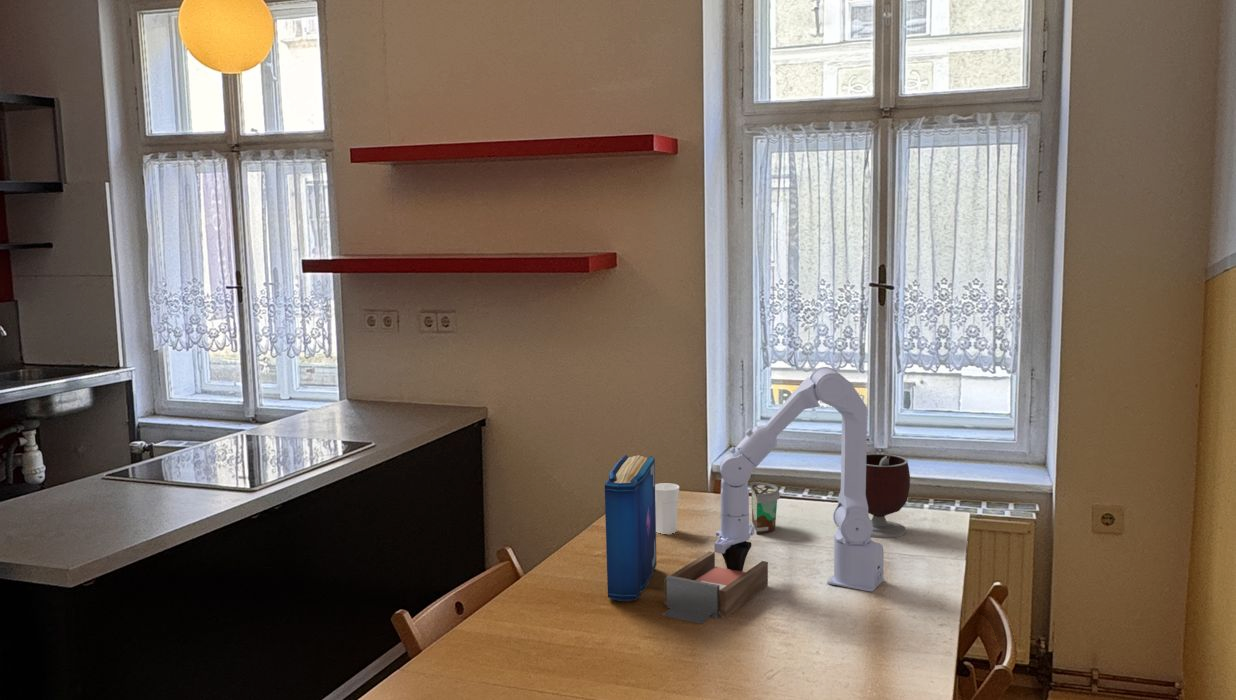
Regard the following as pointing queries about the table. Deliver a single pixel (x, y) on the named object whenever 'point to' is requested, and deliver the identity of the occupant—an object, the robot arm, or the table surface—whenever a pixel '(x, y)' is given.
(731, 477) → the robot arm
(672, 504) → the cup
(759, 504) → the food container
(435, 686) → the table surface
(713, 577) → the boxed book
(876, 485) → the mate gourd
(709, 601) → the bookend
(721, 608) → the brown wooden drawer
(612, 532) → the book
